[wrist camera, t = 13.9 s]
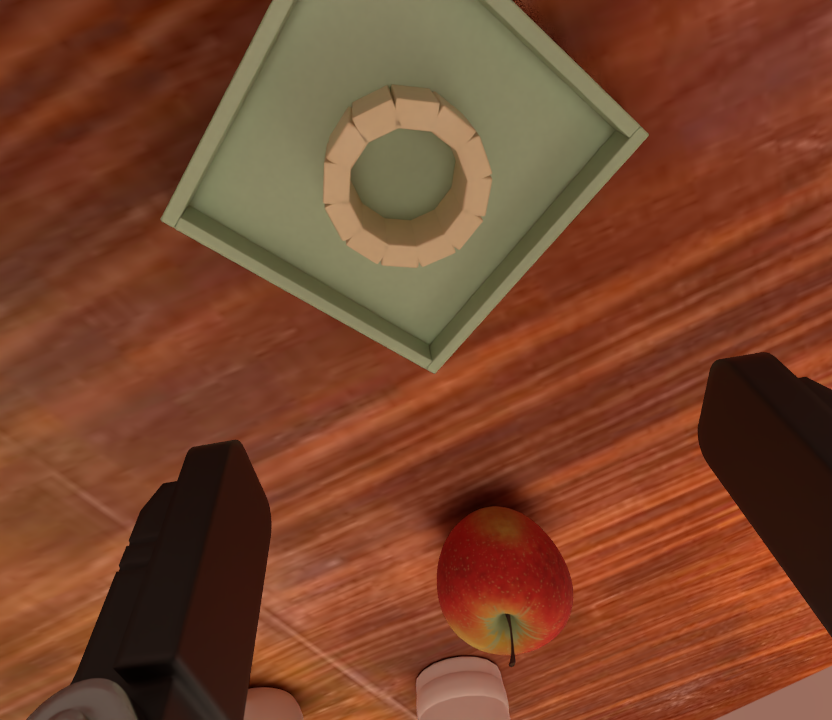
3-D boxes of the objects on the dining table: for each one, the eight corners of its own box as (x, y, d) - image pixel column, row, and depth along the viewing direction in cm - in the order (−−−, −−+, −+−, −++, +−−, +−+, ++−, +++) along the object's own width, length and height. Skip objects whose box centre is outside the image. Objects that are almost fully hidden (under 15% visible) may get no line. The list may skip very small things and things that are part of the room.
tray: (172, 204, 24) (159, 220, 22) (352, -145, 18) (352, -157, 17) (430, 352, 30) (434, 374, 28) (629, 124, 24) (650, 134, 22)
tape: (298, 186, 24) (291, 211, 21) (383, 48, 21) (387, 58, 19) (417, 264, 26) (424, 294, 24) (507, 150, 24) (525, 170, 21)
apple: (490, 569, 41) (524, 716, 33) (405, 532, 38) (420, 685, 30) (569, 509, 38) (628, 653, 30) (485, 462, 35) (525, 611, 27)
